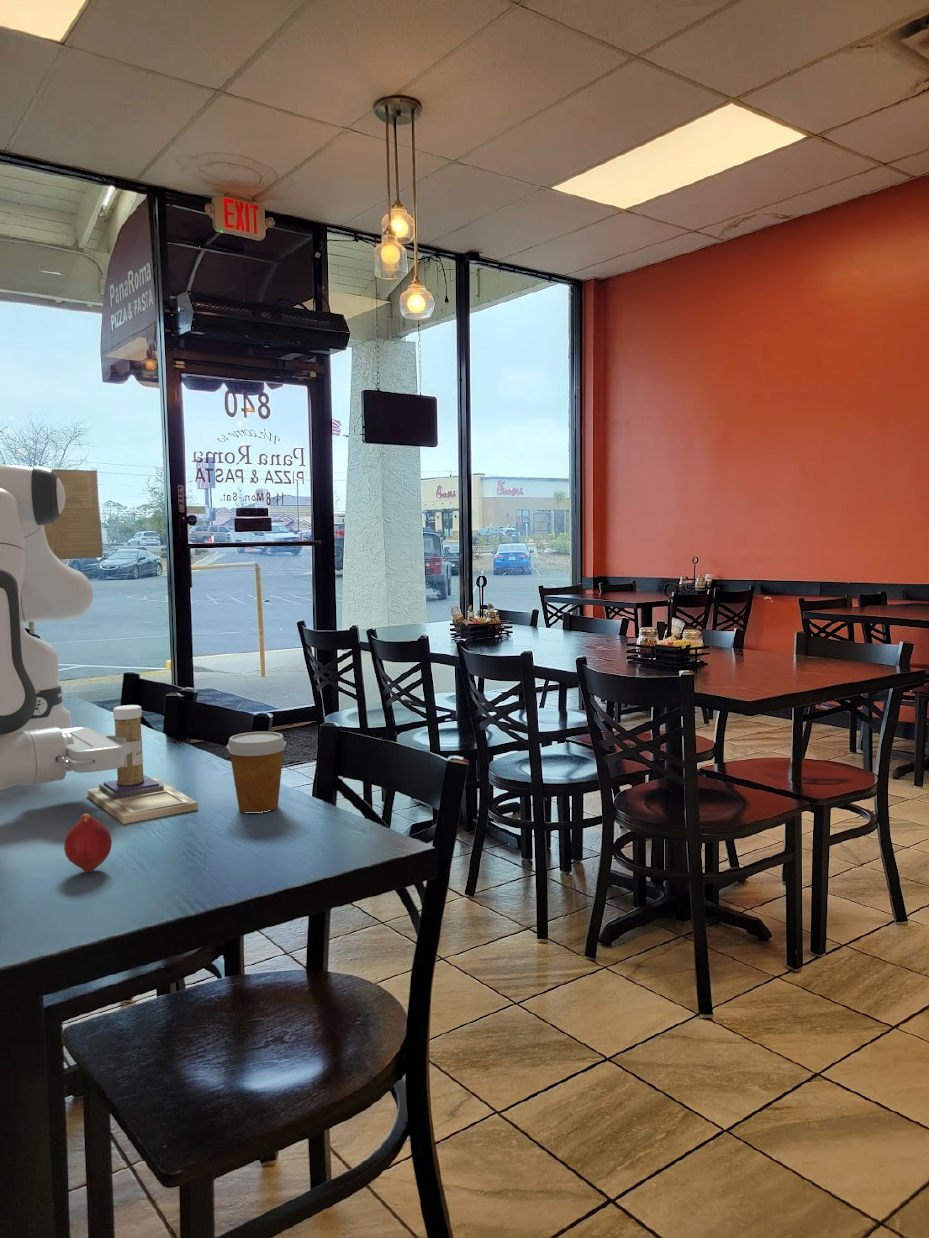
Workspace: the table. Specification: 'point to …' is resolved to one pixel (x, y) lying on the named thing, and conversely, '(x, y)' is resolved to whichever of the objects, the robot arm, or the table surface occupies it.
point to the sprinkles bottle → (126, 731)
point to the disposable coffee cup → (257, 769)
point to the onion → (88, 843)
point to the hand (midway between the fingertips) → (134, 742)
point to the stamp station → (141, 800)
